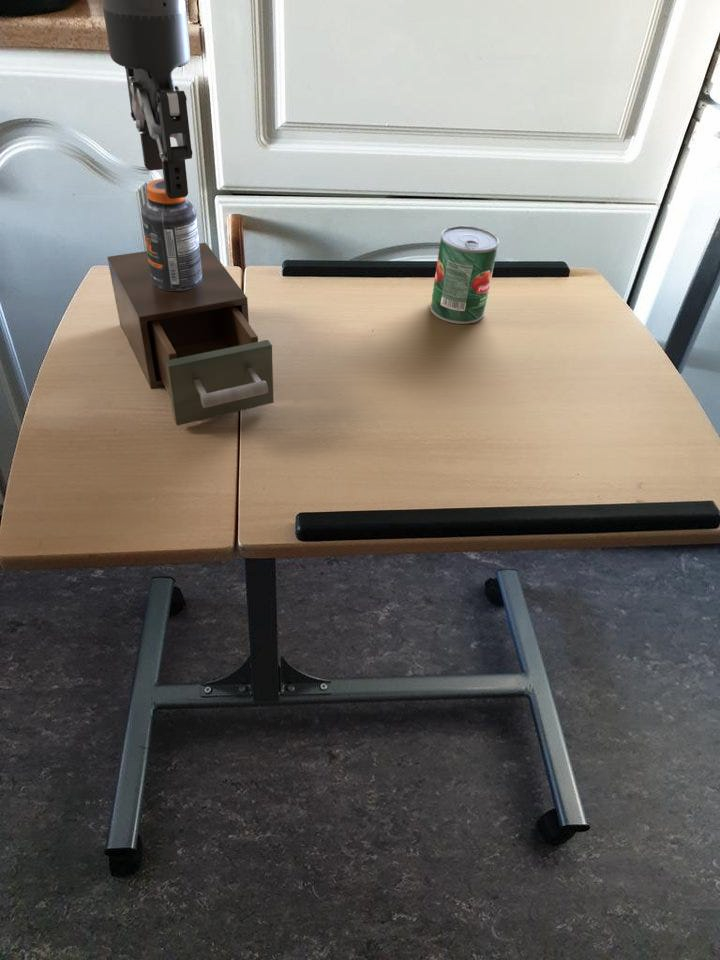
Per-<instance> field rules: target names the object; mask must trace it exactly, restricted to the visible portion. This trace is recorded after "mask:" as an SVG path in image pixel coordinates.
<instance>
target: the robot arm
mask: <svg viewBox="0 0 720 960" xmlns="http://www.w3.org/2000/svg"><path fill="white" fill-rule="evenodd" d="M101 5H102V11H103V18H104V25H105V29H106V30H105V31H106V36H107V42H108V49H109V56H110V58H111V60H112V61H113V62H114V63H115V64H117V65H119V66H120V67H123V68H124V69H125V73H126V81H127V89H128V97H129V105H130V111H131V112H130V117H131V118H132V120H133V122H136V123H135V128H136V130H137V132H138V133H140V134H139V135H140V142H141V143H140V144H141V151H142V158H143V164H144V165H143V166H144V167H145V168H146V170H148V171H161V170H162V175H163V179H164V184H165V192H166V194H167V196H168V197H169V198H171V199H174V198H182V197H185V198H186V197H188V195H189V185H188V176H187V166H186V160H191V159H193V150H192V149H193V148H192V142H191V131H190V124H189V123H190V121H189V113H188V104H187V99H188V98H187V95H186V92H185V90H180V89H179V86H178V85H175V81H174V77H173V71H174V70H175V69H176V68H182V67H184V66H186V65H187V64H188V63H189V62H190V60H191V48H190V45H191V44H190V37H189V36H190V35H189V22H188V11H187V2H186V0H101ZM171 138H174V140H176V146H175V145H174V146H172V141H171Z"/></svg>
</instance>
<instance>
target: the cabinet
mask: <svg viewBox="0 0 720 960" xmlns="http://www.w3.org/2000/svg"><path fill="white" fill-rule="evenodd" d="M199 248H200V258H201V268H202V280H201V282H200V283H199V284H198V285H197V286H195V287H193V288H190V289H187V290H182V291H169V290H164V289H161V288H159V287H157V286H156V285H154V284H153V282H152V280H151V274H150V268H149V261H148V254H147V250H144V251H137V252H130V253H123V254H118V255H110V256H106V257H107V264H108V268H109V269H108V270H109V274H110V279H111V283H112V291H113V294H114V300H115V301H114V302H115V305H116V311H117V316H118V321H119V326H120V327H121V330H122V332H123V334H124V336H125V338H126V340H127V342H128V344H129V347H130V348H131V350H132V353H133V354H134V357H135V359H136V361H137V363H138V365H139V367H140V370H141V372H142V373H143V375H144V377H145V379H146V381H147V385H148V386H149V388H150V389H155V388H160V387H165V386H164V384H163V382H162V380H161V378H160V376H159V374H158V372H157V370H156V368H155V366H154V363H153V357H152V351H151V344H150V338H149V332H148V326H147V322H149V321H154V320H160V319H165V318H171V317H176V316H182V315H187V314H193V313H198V312H204V311H209V310H215V309H220V308H226V307H231V306H236V307H237V308H238V310H239V311H240V313H241V314H242V315H243V317H244V318H245V319H246V321H247V322H248V324H249V325H250V321H249V305H248V304H249V303H248V302H249V301H248V300H249V299H248V296H247V295H246V293H245V292H244V291H243V290H242V288H240V286H239V285H238V283H237V282H236V280H235V279H234V278H233V276H231V274H230V273H229V271H228V270H227V268H226V267H225V266H224V265H223V263H222V262H221V261H220V259H219V258H218V257H217V255H216V254H215V253H214V251H213V250H212V249H211V248H210V246H209V244H207V242H199Z"/></svg>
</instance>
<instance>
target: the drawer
mask: <svg viewBox="0 0 720 960" xmlns="http://www.w3.org/2000/svg"><path fill="white" fill-rule="evenodd" d="M147 326H148V332H149V338H150V344H151V351H152V357H153V363H154V366H155V368H156V370H157V372H158V374H159V376H160V378H161V380H162V382H163V384H164V386H163V387H164V388H165V390H166V391H167V394H168V395H169V398H170V403H171V409H172V410H171V411H172V417H173V421H174V423H175V425H176V426H177V427H178V426H182V425H187V424H191V423H194V422H198V421H204V420H207V419H211V418H212V419H213V418H215V417H219V416H224V415H228V414H232V413H236V412H240V411H244V410H245V411H246V410H249V409H253V408H257V407H261V406H265V405H270V404H273V403H274V373H273V372H274V371H273V368H274V367H273V366H274V365H273V344H272V343H271V342H270V340H269V339H265V340H260V341H259V336H258V334H257V333H256V332H255V330H254V329H253V328H252V326H251V325H250V323H249V324H248V322H247V321H246V319H245V318H244V317H243V315H242V314H241V313H240V311H239V310H238V308H237V307H236V306H231V307H226V308H220V309H215V310H209V311H204V312H198V313H193V314H187V315H182V316H176V317H171V318H165V319H160V320H154V321H149V322H147Z"/></svg>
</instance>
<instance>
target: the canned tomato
mask: <svg viewBox="0 0 720 960" xmlns="http://www.w3.org/2000/svg"><path fill="white" fill-rule="evenodd" d="M499 245H500V240H499V238H498V236H497V235H496V234H495V233H494V232H492V231H489V230H487V229H485V228H482V227H478V226H472V225H455V226H450V227H447V228H445V229H443V231H442V232H441V233H440V242H439V246H438V247H439V248H438V254H437V260H436V261H437V262H436V268H435V274H434V281H433V282H434V283H433V288H432V294H431V302H430V307H429V308H430V311H431V313H432V314H433V315H434V316H435V317H437V318H438V319H440V320H442V321H444V322H446V323H447V322H448V323H451V324H456V325H457V324H458V325H468V324H473V323H477V322H478V321H480V320H482V319H483V318H484V316H485V309H486V306H487V301H488V298H489V297H488V295H489V293H490V287H491V283H492V277H493V273H494V268H495V263H496V258H497V253H498V247H499Z"/></svg>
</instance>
